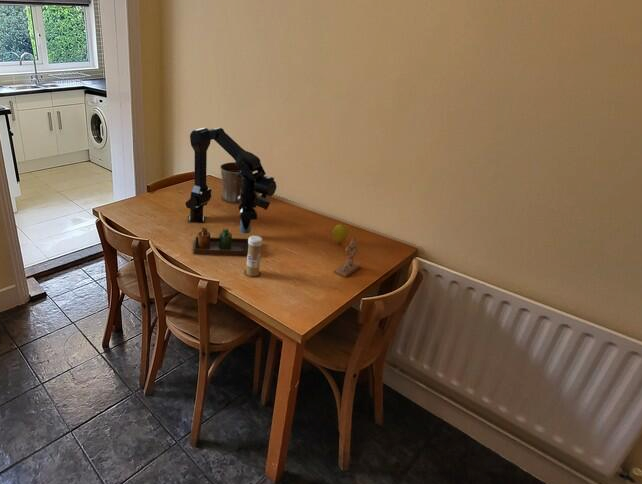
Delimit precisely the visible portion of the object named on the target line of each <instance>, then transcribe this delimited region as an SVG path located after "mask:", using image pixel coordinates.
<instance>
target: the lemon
mask: <svg viewBox="0 0 642 484" xmlns="http://www.w3.org/2000/svg"><path fill="white" fill-rule="evenodd" d="M331 234H332V239H333V240H334V242H336V243H338V244H340V243H343V242H345V241H346V240H347V238H348V236H349V229H348V227H347V226H346V225H344V224H343V223H340V224H337V225H335V226H334V228H333V230H332V233H331Z"/></svg>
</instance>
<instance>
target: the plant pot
mask: <svg viewBox="0 0 642 484" xmlns="http://www.w3.org/2000/svg"><path fill="white" fill-rule="evenodd" d="M219 169H220V173H221V174H220V175H221V183H222V184H221V185H222V187H221V188H222V199H223V200H224V201H227V202H228V203H232V204H233V203H234V204H239V203H238V196H239V195H240V190H241V177H238V176H237V174H239V173H240V172H241V170H240V169H239V168H238V166H237V165H236V161H235V162H232V161H231V162H225V163H222V164H221V165H220V166H219ZM252 173H253V174H254V172H252Z"/></svg>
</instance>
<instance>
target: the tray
mask: <svg viewBox="0 0 642 484" xmlns="http://www.w3.org/2000/svg"><path fill="white" fill-rule="evenodd" d="M248 239H249V238H244V237H243V238H242V237H241V238H239V237H232V243H231V249H229V250H223V249H220V248H219V237H215V236H214V237H212V236H210V248H209V249H200V248H199V247H198V236H195V237H194V246H193V254H194V255H213V256H215V255H216V256H238V257H242V256H243V257H247V256H248V246H249V244H248Z"/></svg>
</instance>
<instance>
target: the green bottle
mask: <svg viewBox="0 0 642 484" xmlns="http://www.w3.org/2000/svg"><path fill="white" fill-rule="evenodd" d="M222 230H223V231H222V232H220V233H219V237H218V238H219V248H220V249H223V250H229V249H231V243H232V238H233V233H232V232H229V228H223V229H222Z"/></svg>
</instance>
